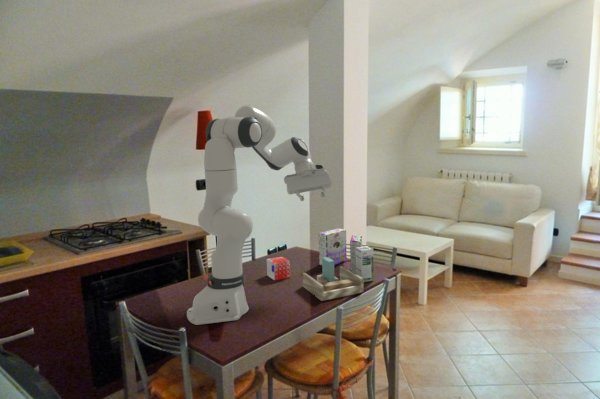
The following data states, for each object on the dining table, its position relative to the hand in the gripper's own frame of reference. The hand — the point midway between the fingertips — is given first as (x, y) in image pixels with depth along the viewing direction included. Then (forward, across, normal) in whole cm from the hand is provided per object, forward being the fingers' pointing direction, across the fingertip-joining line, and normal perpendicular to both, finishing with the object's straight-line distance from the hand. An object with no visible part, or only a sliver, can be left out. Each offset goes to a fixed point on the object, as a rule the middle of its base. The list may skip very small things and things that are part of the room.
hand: (313, 198), depth 183 cm
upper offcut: (+39, +1, +7) cm, 40 cm away
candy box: (+18, +9, +38) cm, 43 cm away
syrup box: (+35, +16, +19) cm, 43 cm away
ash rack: (+38, 0, +11) cm, 40 cm away
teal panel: (+36, -1, +14) cm, 38 cm away
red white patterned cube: (+23, -20, +27) cm, 40 cm away
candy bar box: (+28, +16, +27) cm, 42 cm away
